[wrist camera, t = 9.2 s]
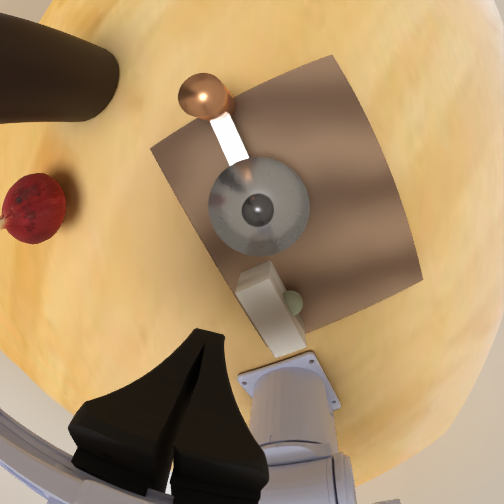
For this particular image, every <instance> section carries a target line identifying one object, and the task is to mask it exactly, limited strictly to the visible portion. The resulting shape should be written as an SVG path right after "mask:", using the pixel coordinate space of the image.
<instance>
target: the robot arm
mask: <svg viewBox="0 0 504 504" xmlns="http://www.w3.org/2000/svg"><path fill="white" fill-rule="evenodd" d="M224 340H225V336H224V335H223V334H219V333H214V332H210V331H206V330H202V329H198V328H196V329H194V330H193V331H192V333H191V334H190V335H189V336H188V338H187V339H186V340H185V341H184V342H183V343H182V344H181V345H180V346H179V347H178V348H177V349H176V350H175V351H174V352H173V353H172V354H171V355H170V356H169V357H168V358H166V359H165V360H164V361H163V362H162V363H160V364H159V365H158V366H157V367H155V368H154V369H153V370H151V371H150V372H149V373H147V374H146V375H144V376H143V377H141V378H139V379H138V380H136V381H134V382H133V383H131V384H129V385H127V386H125V387H123V388H121V389H119V390H116V391H114V392H112V393H110V394H107V395H105V396H102V397H99V398H96V399H93V400H90V401H86V402H85V403H84V404H83V405H82V406H81V407H80V409H79V410H78V411H77V412H76V414H75V416H74V417H73V419H72V421H71V422H70V424H69V426H68V430H69V433H70V435H71V436H72V438H73V440H74V442H75V443H76V445H77V447H78V448H77V450H76V452H75V454H74V456H72V455H70V454H68V453H66V452H64V451H63V450H61V449H59V448H57V447H55V446H54V445H52V444H50V443H49V442H47V441H46V440H44V439H42V438H41V437H39V436H38V435H36V434H34V433H33V432H32V431H30V430H29V429H27V428H26V427H24V426H23V425H21V424H20V423H19V422H17V421H16V420H14V419H13V418H12V417H10V416H9V415H8V414H7V413H5V412H4V411H3V410H1V409H0V465H1V466H2V467H4V468H5V469H6V470H7V471H8V472H10V473H11V474H12V475H13V476H15V477H16V478H18V479H19V480H20V481H21V482H23V483H24V484H25V485H27V486H28V487H29V488H31V489H32V490H34V491H35V492H37V493H38V494H40V495H41V496H43V497H44V498H46V499H47V500H48V502H47V504H357V503H356V493H355V485H354V478H353V472H352V466H351V461H350V457H348V456H347V455H344V454H343V452H338V443H337V436H336V428H335V421H334V414H333V410H336V409H339V408H340V407H341V403H340V401H339V399H338V397H337V395H336V393H335V391H334V390H333V388H332V386H331V384H330V382H329V380H328V378H327V376H326V374H325V373H324V371H323V369H322V367H321V365H320V363H319V361H318V359H317V358H316V356H315V354H314V353H313V352H306V353H304V354H301V355H298V356H295V357H293V358H290V359H287V360H284V361H281V362H278V363H275V364H272V365H269V366H266V367H263V368H259V369H256V370H253V371H250V372H246V373H243V374H240V375H238V377H237V381H238V382H239V383H240V384H241V386H242V387H243V388H244V389H245V391H246V392H247V393H248V394H249V395H250V397H251V398H252V407H251V416H250V424H249V428H248V427H247V425H246V423H245V421H244V419H243V417H242V415H241V413H240V411H239V408H238V406H237V403H236V401H235V398H234V395H233V392H232V389H231V386H230V382H229V378H228V374H227V368H226V363H225V354H224ZM310 360H313V361H310ZM243 381H245V382H243ZM172 462H173V464H174V468H173V472H172V476H171V479H170V484H171V495H169V494H166V493H165V491H166V486H167V482H168V478H169V474H170V470H171V466H172ZM374 504H401V503H400V499H394V500H388V501H382V502H377V503H374Z"/></svg>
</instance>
